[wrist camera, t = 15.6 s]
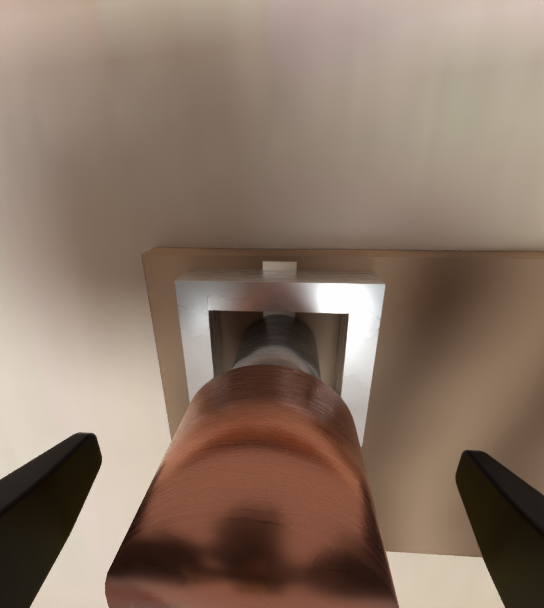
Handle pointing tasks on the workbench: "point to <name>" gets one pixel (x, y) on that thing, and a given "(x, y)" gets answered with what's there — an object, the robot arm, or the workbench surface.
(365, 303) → the frame
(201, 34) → the workbench surface
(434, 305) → the plywood board
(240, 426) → the copper and grey cylinder
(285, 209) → the workbench surface
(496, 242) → the workbench surface
